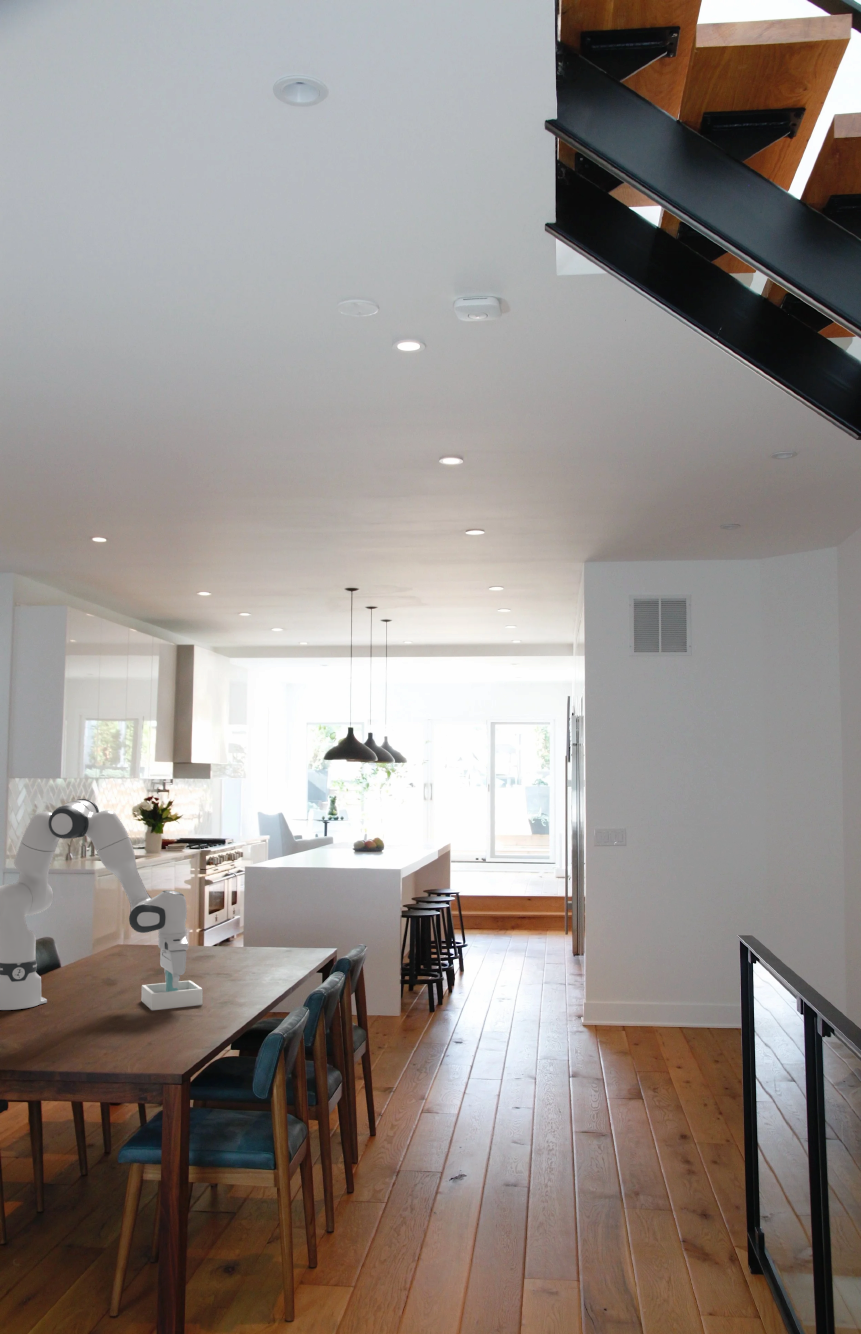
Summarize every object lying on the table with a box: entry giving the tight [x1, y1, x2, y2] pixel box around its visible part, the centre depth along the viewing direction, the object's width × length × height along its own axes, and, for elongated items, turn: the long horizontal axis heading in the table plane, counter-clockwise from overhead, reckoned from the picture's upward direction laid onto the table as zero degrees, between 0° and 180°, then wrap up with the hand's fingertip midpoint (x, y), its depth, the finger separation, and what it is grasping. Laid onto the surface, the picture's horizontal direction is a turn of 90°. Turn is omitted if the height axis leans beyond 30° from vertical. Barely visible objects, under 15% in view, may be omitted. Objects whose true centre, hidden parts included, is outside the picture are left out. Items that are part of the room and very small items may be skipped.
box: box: [140, 980, 204, 1011], centre depth 335 cm, size 16×16×5 cm
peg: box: [165, 971, 178, 992], centre depth 335 cm, size 3×3×10 cm
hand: (171, 985), depth 335 cm, fingers open, 8 cm apart
